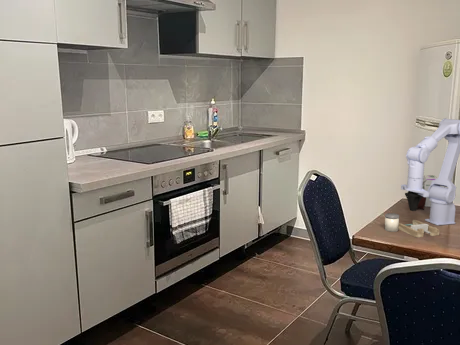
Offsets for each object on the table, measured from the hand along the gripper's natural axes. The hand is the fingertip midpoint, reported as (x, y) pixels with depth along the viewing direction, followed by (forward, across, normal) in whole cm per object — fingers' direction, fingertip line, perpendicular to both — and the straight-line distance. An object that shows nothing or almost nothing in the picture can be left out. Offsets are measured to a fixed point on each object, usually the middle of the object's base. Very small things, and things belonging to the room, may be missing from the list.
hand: (412, 210), depth 184 cm
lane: (+8, +2, +1) cm, 8 cm away
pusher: (+8, +7, +1) cm, 10 cm away
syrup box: (+8, -30, +33) cm, 45 cm away
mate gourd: (+8, -26, +24) cm, 36 cm away
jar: (+8, -2, -8) cm, 11 cm away
